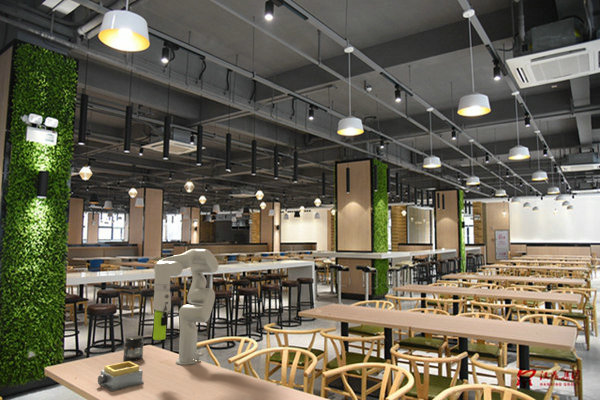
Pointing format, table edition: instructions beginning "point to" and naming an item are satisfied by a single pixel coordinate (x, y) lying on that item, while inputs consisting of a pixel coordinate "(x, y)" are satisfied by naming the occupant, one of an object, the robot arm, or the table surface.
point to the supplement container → (133, 348)
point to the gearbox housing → (120, 376)
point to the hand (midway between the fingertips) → (160, 323)
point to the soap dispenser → (158, 327)
